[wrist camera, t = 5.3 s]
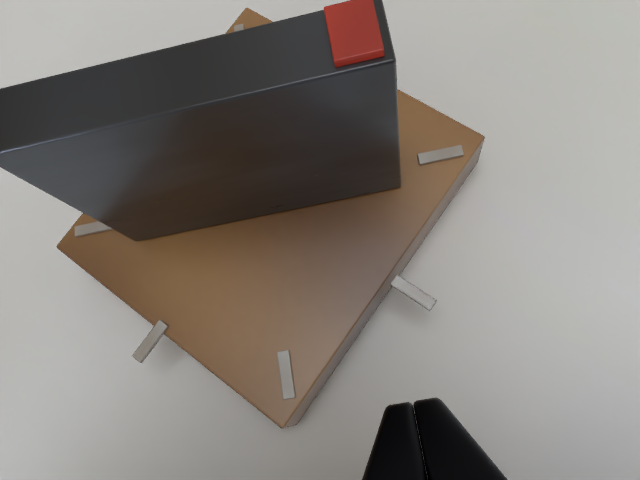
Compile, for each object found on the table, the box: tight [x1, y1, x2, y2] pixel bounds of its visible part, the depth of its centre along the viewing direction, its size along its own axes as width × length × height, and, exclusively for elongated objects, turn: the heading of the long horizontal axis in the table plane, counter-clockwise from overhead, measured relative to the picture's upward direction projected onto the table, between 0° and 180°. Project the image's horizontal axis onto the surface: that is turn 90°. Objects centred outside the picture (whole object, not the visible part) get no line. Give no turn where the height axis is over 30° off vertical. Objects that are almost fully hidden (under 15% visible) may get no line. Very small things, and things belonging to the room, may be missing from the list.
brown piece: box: [57, 8, 485, 428], centre depth 19 cm, size 13×13×2 cm
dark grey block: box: [0, 0, 401, 241], centre depth 15 cm, size 9×2×7 cm, turn 99°
